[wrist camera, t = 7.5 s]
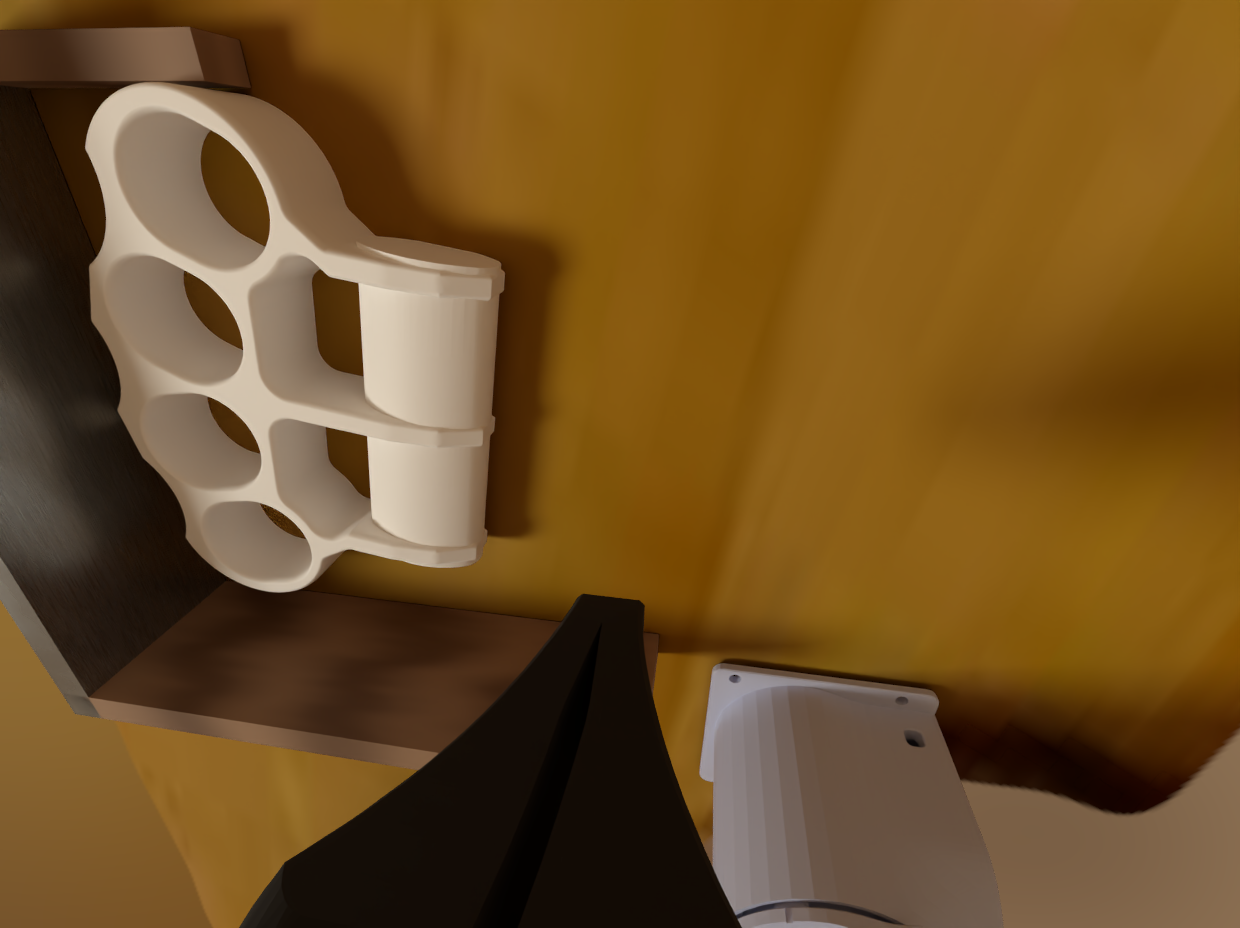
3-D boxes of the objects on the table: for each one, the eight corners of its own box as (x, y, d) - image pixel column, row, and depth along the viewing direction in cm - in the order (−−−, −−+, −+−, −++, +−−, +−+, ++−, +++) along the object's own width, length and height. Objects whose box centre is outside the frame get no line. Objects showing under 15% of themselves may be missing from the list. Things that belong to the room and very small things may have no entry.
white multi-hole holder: (491, 589, 26) (196, 517, 27) (524, 149, 17) (86, 62, 18) (462, 642, 23) (131, 560, 24) (484, 146, 14) (-37, 42, 15)
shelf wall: (697, 33, 15) (682, -55, 9) (657, 653, 26) (638, 806, 20) (-22, 43, 18) (-406, -20, 12) (212, 596, 29) (75, 713, 23)
